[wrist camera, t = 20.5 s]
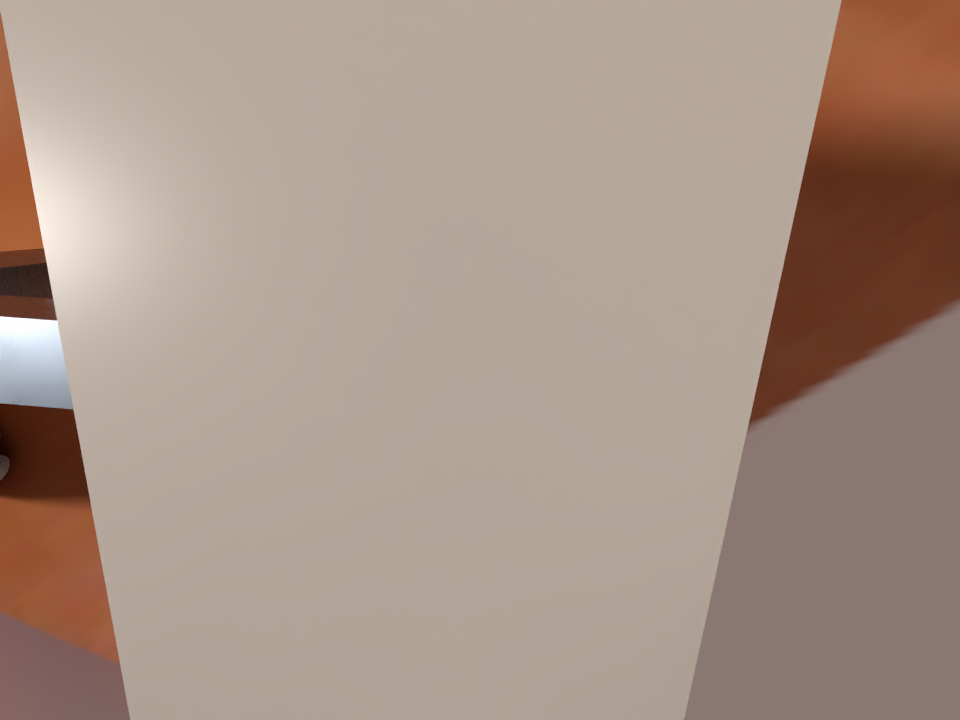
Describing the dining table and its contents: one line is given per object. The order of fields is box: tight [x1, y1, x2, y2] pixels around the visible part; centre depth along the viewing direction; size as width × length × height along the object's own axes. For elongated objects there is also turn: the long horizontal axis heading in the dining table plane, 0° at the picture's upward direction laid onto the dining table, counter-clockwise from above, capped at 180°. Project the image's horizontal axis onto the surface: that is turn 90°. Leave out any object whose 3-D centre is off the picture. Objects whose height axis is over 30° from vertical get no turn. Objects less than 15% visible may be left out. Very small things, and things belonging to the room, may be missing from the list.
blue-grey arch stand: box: [0, 248, 73, 409], centre depth 17 cm, size 6×14×13 cm, turn 87°
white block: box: [0, 0, 841, 720], centre depth 9 cm, size 20×4×9 cm, turn 177°
